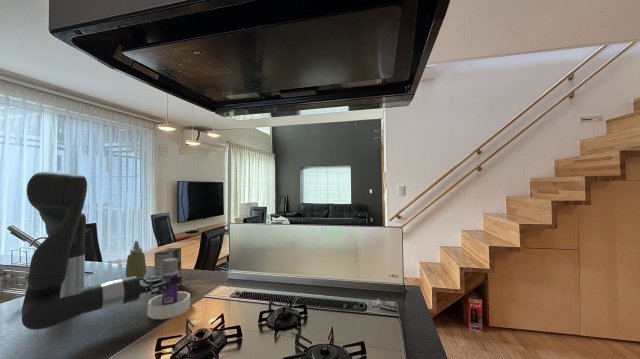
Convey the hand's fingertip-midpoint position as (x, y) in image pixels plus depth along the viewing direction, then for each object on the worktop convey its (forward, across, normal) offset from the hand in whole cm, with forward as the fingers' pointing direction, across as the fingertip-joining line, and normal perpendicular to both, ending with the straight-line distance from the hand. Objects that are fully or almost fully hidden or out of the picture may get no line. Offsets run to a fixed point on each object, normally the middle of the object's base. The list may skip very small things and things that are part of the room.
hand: (178, 277), depth 94 cm
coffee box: (+5, +23, +10) cm, 26 cm away
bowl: (-2, 0, +10) cm, 11 cm away
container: (-3, 0, +8) cm, 9 cm away
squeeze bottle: (-1, +46, +10) cm, 47 cm away
